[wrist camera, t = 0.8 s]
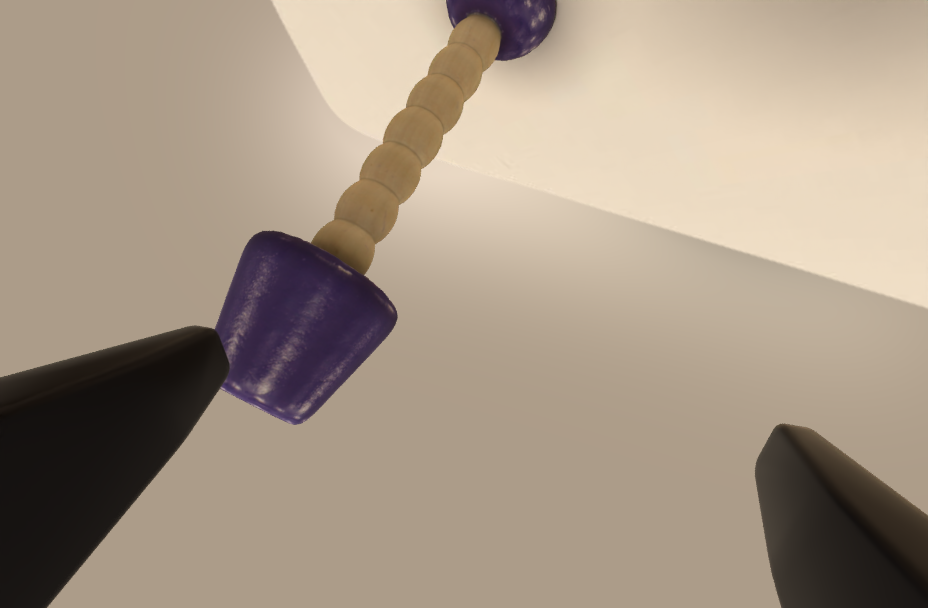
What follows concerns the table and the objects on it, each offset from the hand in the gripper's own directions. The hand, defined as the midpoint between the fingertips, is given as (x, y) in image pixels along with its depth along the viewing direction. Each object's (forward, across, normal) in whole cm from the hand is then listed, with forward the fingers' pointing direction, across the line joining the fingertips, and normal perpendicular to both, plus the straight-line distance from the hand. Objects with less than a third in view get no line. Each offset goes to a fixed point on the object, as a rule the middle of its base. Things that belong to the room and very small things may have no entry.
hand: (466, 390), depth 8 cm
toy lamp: (+16, -2, +4) cm, 17 cm away
